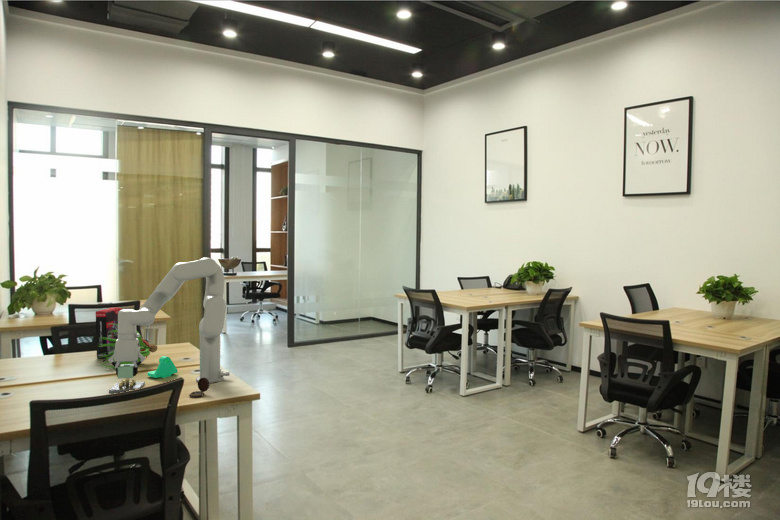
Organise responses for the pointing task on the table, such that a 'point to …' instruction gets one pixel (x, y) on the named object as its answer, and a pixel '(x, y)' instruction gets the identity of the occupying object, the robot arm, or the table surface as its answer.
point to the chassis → (126, 386)
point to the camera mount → (163, 368)
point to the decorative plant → (143, 350)
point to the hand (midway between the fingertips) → (126, 375)
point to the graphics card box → (106, 330)
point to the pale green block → (125, 371)
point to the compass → (201, 388)
